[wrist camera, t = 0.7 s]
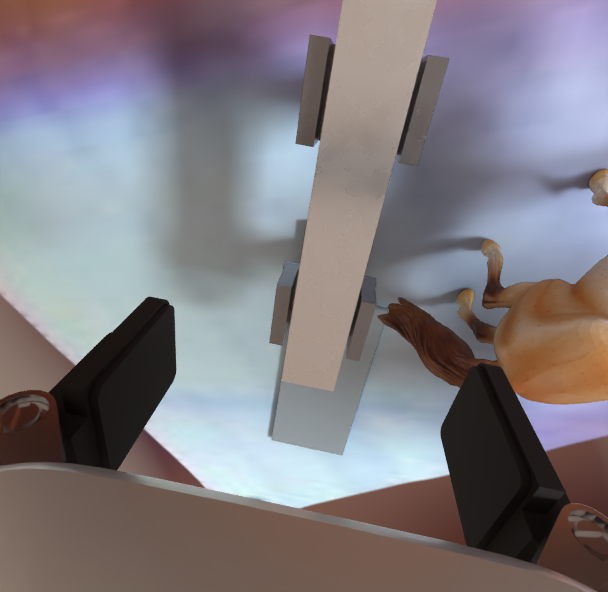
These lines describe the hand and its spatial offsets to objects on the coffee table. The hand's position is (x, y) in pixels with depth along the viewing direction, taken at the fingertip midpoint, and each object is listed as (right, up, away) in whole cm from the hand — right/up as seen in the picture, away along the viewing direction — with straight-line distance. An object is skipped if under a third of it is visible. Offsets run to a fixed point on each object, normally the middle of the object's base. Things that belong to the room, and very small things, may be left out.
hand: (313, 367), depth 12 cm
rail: (+2, +8, +14) cm, 16 cm away
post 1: (+5, +18, +19) cm, 27 cm away
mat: (+2, -8, +34) cm, 35 cm away
